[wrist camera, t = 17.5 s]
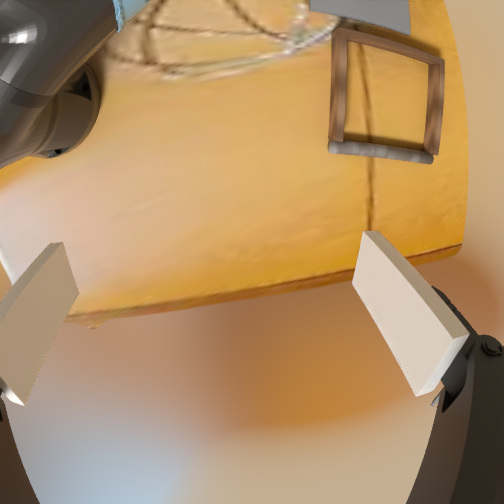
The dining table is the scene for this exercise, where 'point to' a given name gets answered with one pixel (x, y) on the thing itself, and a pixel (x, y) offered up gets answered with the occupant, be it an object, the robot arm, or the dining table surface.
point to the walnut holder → (339, 100)
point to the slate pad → (369, 12)
